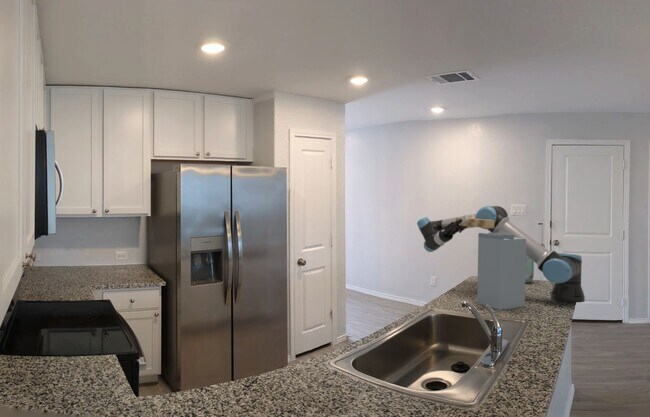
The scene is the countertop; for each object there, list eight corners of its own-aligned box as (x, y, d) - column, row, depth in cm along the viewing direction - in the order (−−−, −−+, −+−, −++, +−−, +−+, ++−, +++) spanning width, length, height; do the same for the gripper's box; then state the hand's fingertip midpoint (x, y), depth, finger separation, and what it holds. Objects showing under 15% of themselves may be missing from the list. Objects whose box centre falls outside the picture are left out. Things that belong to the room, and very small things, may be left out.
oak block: (455, 225, 253) (456, 217, 253) (461, 225, 255) (461, 217, 255) (488, 228, 232) (488, 220, 232) (494, 228, 234) (494, 220, 234)
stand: (477, 303, 226) (478, 233, 225) (501, 300, 233) (502, 232, 232) (499, 310, 214) (501, 235, 213) (524, 306, 221) (526, 234, 220)
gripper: (457, 241, 267) (484, 223, 248) (433, 242, 259) (459, 224, 241) (453, 229, 270) (479, 210, 252) (429, 230, 262) (455, 211, 244)
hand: (470, 217), depth 246 cm, fingers closed on oak block, 4 cm apart
